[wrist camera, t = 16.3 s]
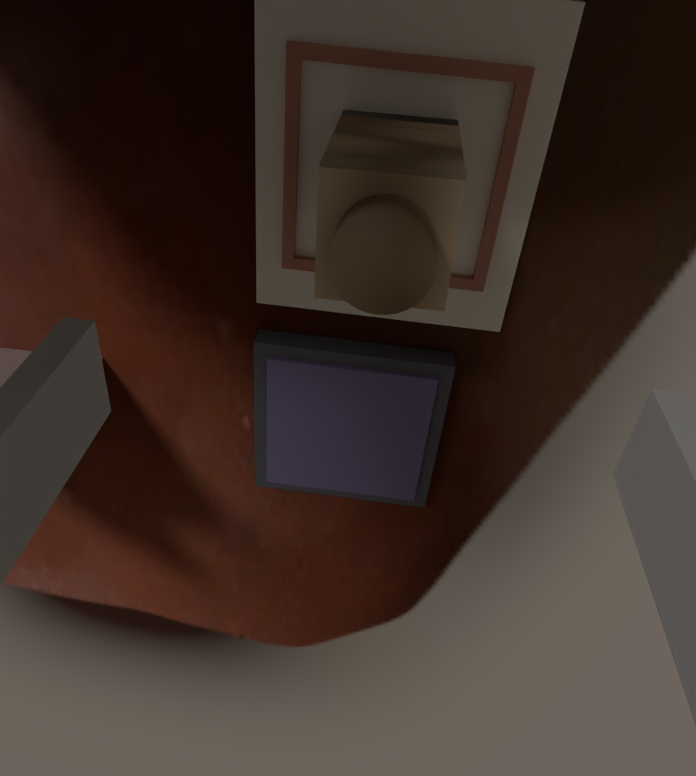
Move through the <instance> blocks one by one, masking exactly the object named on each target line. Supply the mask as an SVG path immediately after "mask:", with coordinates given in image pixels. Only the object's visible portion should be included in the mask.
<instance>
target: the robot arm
mask: <svg viewBox="0 0 696 776" xmlns="http://www.w3.org/2000/svg"><path fill="white" fill-rule="evenodd" d="M110 412H111V406H110V401H109V396H108V390H107V385H106V380H105V374H104V369H103V363H102V358H101V353H100V347H99V342H98V337H97V331H96V326H95V321H89V320H81V319H73V318H65V317H63V318H62V319H61V320H60V321H59V322H58V323H57V325H56V326H55V327H54V328H53V329H52V330H51V331H50V332H49V334H48V335H47V336H46V337H45V338H44V339H43V340H42V341H41V342H40V344H39V345H38V346H37V347H36V348H35V349H34V350H33V351H32V352H31V354H30V355H29V356H28V357H27V358H26V359H25V360H24V361H23V363H22V364H21V365H20V366H19V367H18V368H17V369H16V370H15V371H14V373H13V374H12V375H11V376H10V377H9V378H8V379H7V380H6V381H5V383H4V384H3V385H2V386H1V387H0V586H1V585H2V583H3V582H4V580H5V579H6V577H7V575H8V574H9V572H10V571H11V569H12V568H13V566H14V564H15V563H16V561H17V560H18V558H19V556H20V555H21V553H22V552H23V550H24V549H25V547H26V545H27V544H28V542H29V541H30V539H31V537H32V536H33V534H34V533H35V531H36V530H37V528H38V526H39V525H40V523H41V522H42V520H43V518H44V517H45V515H46V514H47V512H48V511H49V509H50V507H51V506H52V504H53V503H54V501H55V499H56V498H57V496H58V495H59V493H60V492H61V490H62V488H63V487H64V485H65V484H66V482H67V480H68V479H69V477H70V476H71V474H72V473H73V471H74V469H75V468H76V466H77V465H78V463H79V461H80V460H81V458H82V457H83V455H84V454H85V452H86V450H87V449H88V447H89V446H90V444H91V442H92V441H93V439H94V438H95V436H96V435H97V433H98V431H99V430H100V428H101V427H102V425H103V423H104V422H105V420H106V419H107V417H108V416H109V414H110ZM613 476H614V479H615V482H616V486H617V488H618V492H619V494H620V498H621V501H622V503H623V506H624V510H625V513H626V515H627V518H628V522H629V524H630V528H631V531H632V534H633V537H634V540H635V543H636V546H637V549H638V552H639V555H640V558H641V561H642V564H643V567H644V570H645V573H646V576H647V579H648V582H649V585H650V588H651V591H652V594H653V597H654V600H655V603H656V606H657V609H658V612H659V615H660V618H661V621H662V624H663V627H664V630H665V633H666V636H667V639H668V642H669V645H670V648H671V651H672V654H673V657H674V660H675V663H676V666H677V669H678V672H679V676H680V679H681V682H682V685H683V688H684V691H685V694H686V696H687V700H688V702H689V706H690V709H691V712H692V715H693V718H694V721H695V724H696V412H695V410H694V408H693V406H692V405H691V403H690V400H689V399H688V397H687V395H686V393H684V392H675V391H667V390H658V389H652V390H651V392H650V394H649V396H648V398H647V400H646V402H645V405H644V407H643V409H642V412H641V413H640V416H639V418H638V420H637V422H636V424H635V427H634V429H633V431H632V433H631V435H630V437H629V440H628V442H627V444H626V446H625V448H624V450H623V453H622V455H621V457H620V459H619V461H618V463H617V466H616V468H615V470H614V472H613Z"/></svg>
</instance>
